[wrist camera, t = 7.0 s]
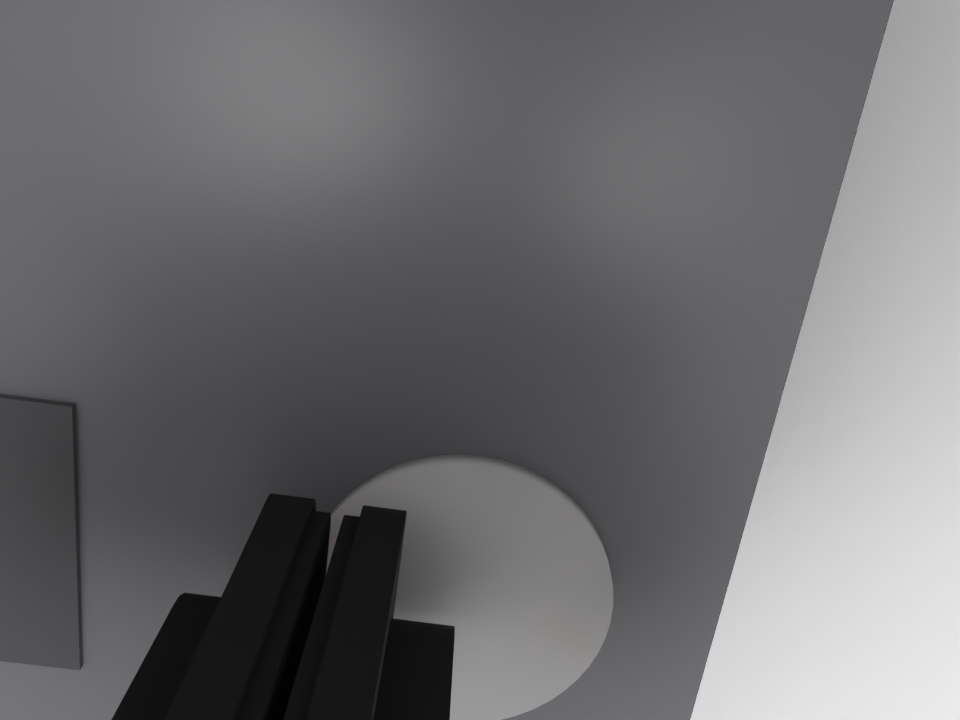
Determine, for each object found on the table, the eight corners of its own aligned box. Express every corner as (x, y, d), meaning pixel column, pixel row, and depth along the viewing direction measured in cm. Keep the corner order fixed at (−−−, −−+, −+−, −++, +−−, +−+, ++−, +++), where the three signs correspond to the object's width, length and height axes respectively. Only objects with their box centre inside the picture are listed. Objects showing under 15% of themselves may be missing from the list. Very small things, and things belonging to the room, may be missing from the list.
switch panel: (-540, -963, 9) (-1181, -1575, 6) (956, -689, 10) (1219, -1086, 6) (-175, 985, 20) (-319, 1194, 16) (531, 1056, 21) (539, 1274, 17)
